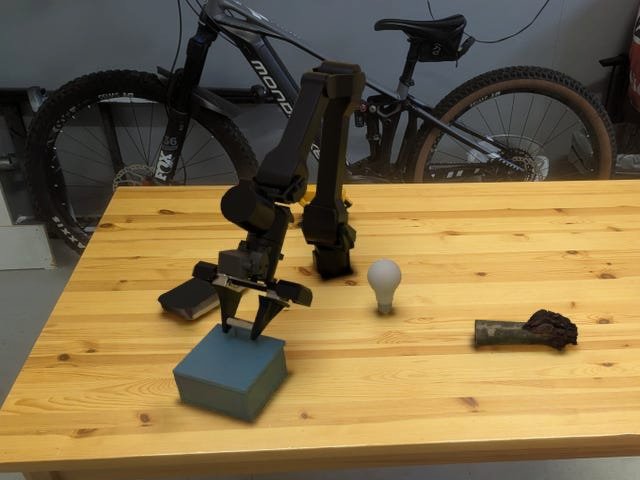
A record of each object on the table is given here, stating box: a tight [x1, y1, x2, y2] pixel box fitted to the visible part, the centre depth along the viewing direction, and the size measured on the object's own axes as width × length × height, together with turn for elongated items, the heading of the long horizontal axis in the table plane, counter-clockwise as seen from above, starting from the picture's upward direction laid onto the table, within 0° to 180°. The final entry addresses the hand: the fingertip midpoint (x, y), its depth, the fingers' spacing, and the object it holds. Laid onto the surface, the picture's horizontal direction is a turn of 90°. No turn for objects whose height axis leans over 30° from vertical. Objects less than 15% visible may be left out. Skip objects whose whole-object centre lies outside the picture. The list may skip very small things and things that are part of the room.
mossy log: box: [473, 308, 579, 352], centre depth 115 cm, size 18×7×6 cm, turn 87°
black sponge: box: [157, 277, 250, 321], centre depth 124 cm, size 16×8×4 cm, turn 143°
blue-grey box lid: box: [171, 316, 287, 395], centre depth 102 cm, size 12×13×5 cm
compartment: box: [173, 347, 289, 423], centre depth 105 cm, size 12×13×6 cm
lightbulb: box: [366, 258, 402, 314], centre depth 119 cm, size 6×6×11 cm
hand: (238, 336), depth 104 cm, fingers closed on blue-grey box lid, 4 cm apart
